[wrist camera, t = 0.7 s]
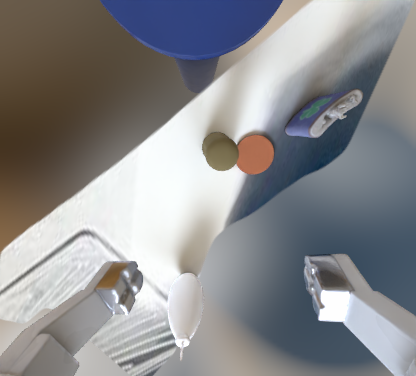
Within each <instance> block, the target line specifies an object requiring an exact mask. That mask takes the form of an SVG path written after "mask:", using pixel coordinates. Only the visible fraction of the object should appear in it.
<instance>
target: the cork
mask: <svg viewBox="0 0 416 376" xmlns="http://www.w3.org/2000/svg"><path fill="white" fill-rule="evenodd" d="M202 150H203V154H204V155H205V157H206V160H207V163H208V164H209V166H211V167H212V168H213V169H215V170H218V171H225V170H229V169H231V168H232V167H233V166H234V165H235V164H236V163H237V160H238V158H239V150H238V147H237V145H236V143H235V142H234V141H233V140H231V139H229V138H228V137H227V136H226V135H225V134H223V133H220V132H215V133H211V134H210V135H208V136H207V137H206V138H205V139H204V142H203V144H202Z"/></svg>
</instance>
